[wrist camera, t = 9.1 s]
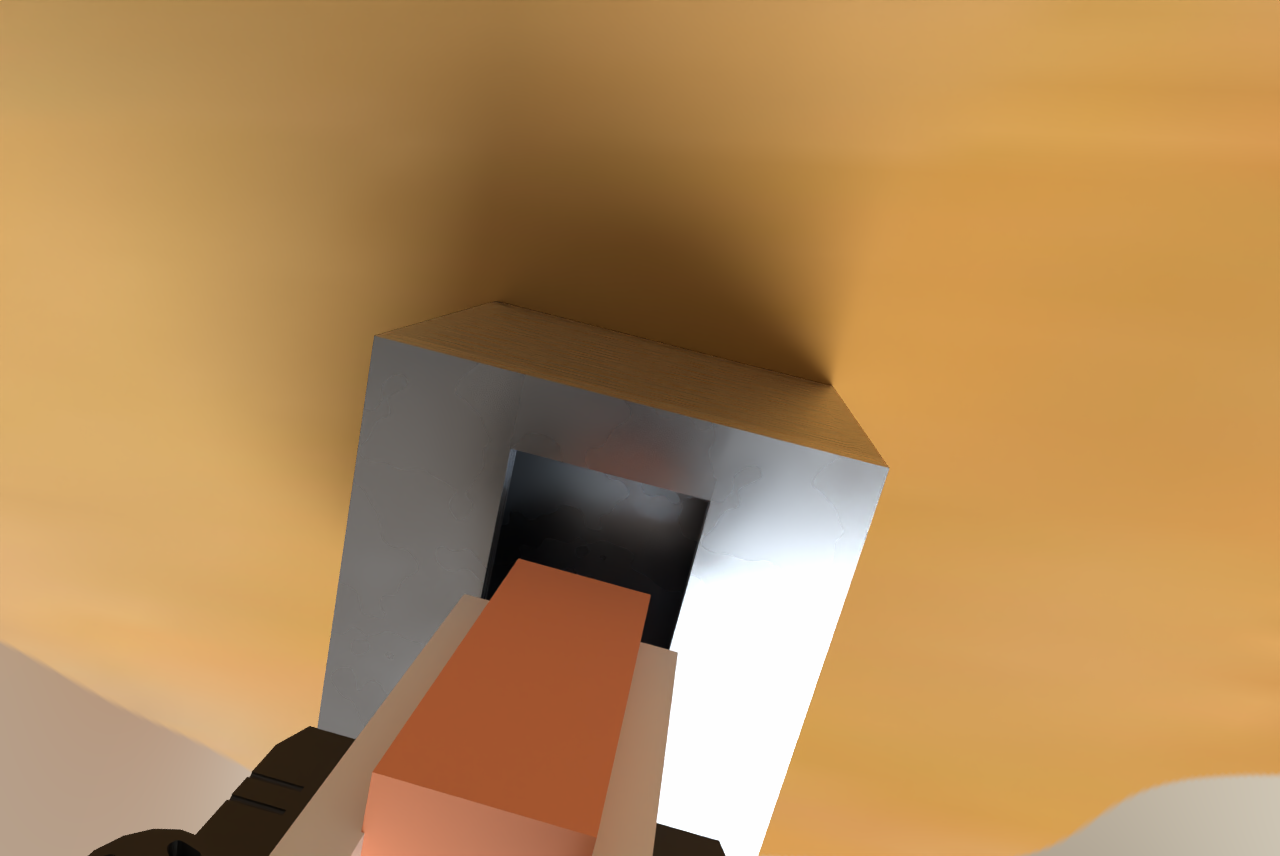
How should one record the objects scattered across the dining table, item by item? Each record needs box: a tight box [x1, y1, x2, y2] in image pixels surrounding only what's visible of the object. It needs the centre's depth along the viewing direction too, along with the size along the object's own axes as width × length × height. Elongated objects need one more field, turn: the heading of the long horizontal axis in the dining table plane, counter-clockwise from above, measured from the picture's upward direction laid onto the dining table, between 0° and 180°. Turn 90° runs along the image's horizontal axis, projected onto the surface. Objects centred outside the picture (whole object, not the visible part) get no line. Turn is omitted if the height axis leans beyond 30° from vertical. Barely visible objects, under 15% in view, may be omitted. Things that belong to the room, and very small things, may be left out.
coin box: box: [318, 301, 889, 856], centre depth 20 cm, size 10×10×8 cm
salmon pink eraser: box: [361, 558, 651, 856], centre depth 12 cm, size 2×5×6 cm, turn 166°
